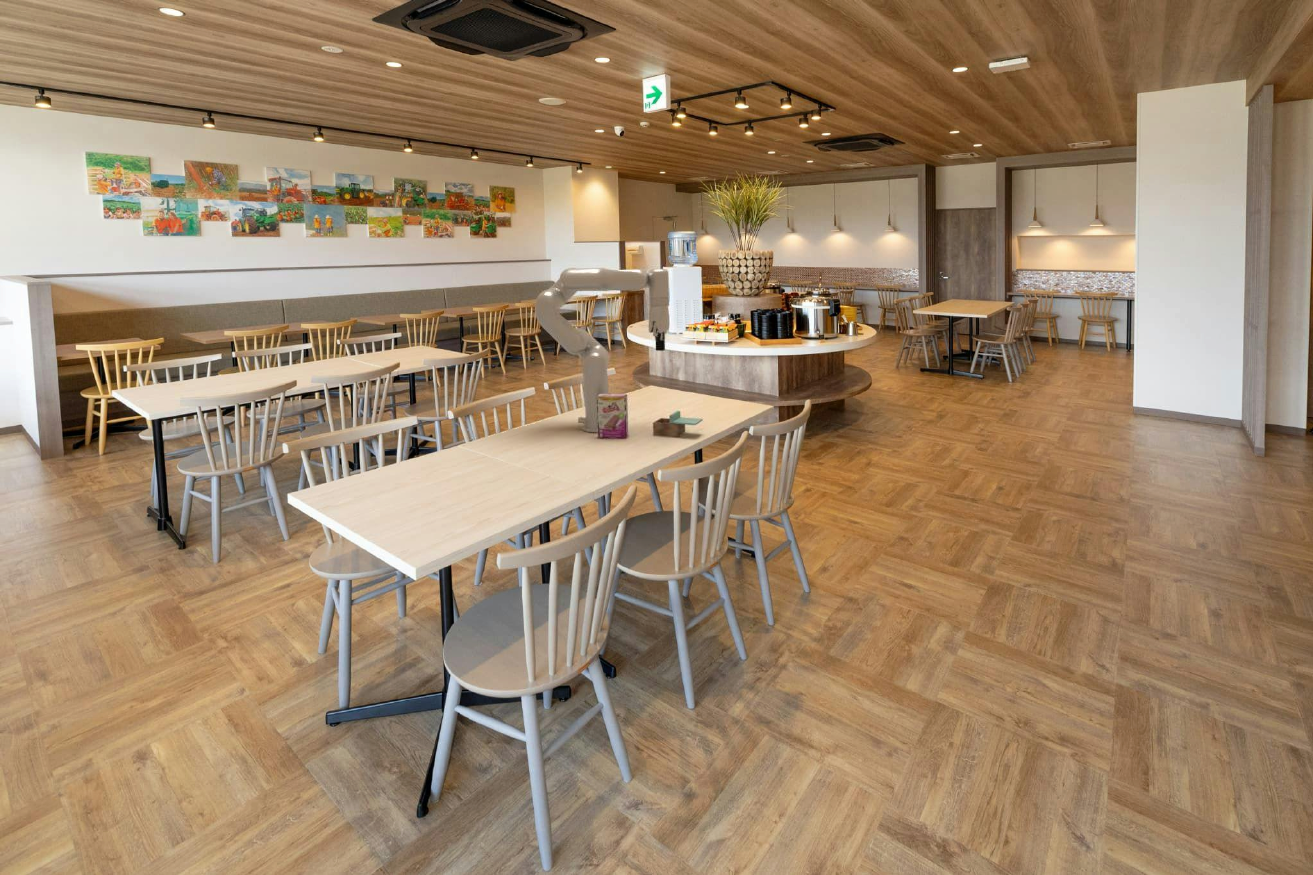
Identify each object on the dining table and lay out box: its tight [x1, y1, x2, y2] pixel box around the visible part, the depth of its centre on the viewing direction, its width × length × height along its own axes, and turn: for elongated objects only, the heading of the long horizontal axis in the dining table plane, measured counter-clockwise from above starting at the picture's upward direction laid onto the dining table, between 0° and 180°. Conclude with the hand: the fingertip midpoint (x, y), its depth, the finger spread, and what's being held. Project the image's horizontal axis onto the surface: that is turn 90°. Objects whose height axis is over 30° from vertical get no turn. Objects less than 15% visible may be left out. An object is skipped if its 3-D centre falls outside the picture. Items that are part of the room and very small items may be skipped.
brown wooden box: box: [652, 417, 686, 438], centre depth 282 cm, size 10×8×5 cm
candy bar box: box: [597, 393, 629, 439], centre depth 278 cm, size 11×5×16 cm, turn 84°
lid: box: [669, 410, 704, 426], centre depth 278 cm, size 10×8×3 cm
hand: (660, 350), depth 283 cm, fingers closed
